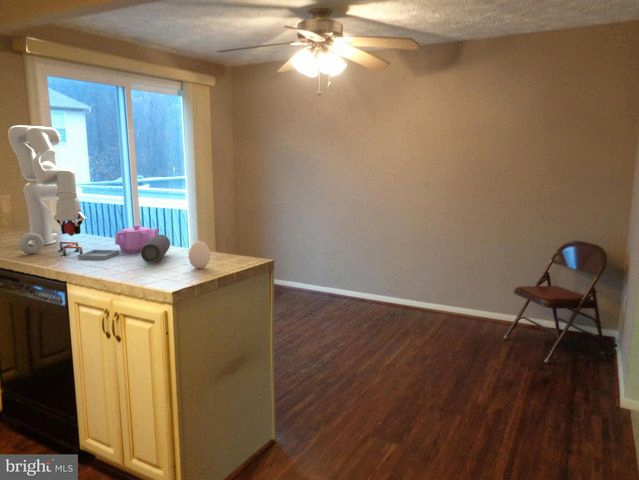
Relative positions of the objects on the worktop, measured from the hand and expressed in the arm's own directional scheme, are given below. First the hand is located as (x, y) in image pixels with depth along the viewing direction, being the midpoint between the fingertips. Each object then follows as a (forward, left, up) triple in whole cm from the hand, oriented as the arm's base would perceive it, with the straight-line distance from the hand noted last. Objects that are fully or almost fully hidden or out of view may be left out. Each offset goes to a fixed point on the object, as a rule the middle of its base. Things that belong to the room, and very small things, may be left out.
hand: (71, 233), depth 220 cm
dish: (+10, +19, -9) cm, 23 cm away
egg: (+26, +71, -9) cm, 76 cm away
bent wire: (+5, +2, -9) cm, 10 cm away
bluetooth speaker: (+13, +47, -9) cm, 50 cm away
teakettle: (-7, +29, -9) cm, 31 cm away
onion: (0, 0, -1) cm, 1 cm away
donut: (+8, -15, -9) cm, 19 cm away
